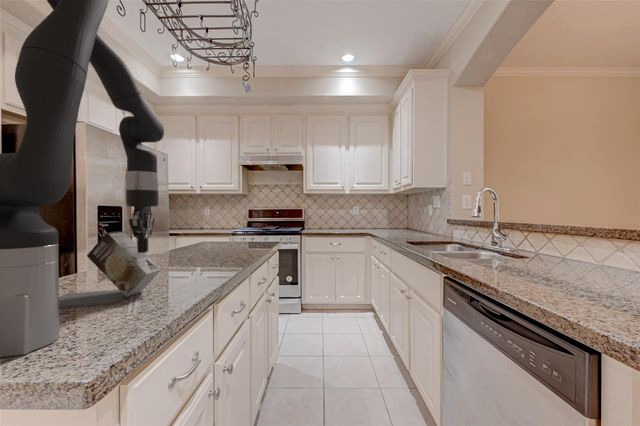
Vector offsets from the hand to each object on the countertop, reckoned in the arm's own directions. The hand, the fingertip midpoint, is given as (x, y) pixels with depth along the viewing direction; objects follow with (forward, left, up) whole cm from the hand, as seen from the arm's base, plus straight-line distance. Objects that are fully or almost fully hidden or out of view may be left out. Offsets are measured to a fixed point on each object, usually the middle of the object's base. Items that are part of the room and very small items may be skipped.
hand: (143, 252), depth 78 cm
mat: (0, +12, -12) cm, 17 cm away
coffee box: (+1, 0, -9) cm, 9 cm away
